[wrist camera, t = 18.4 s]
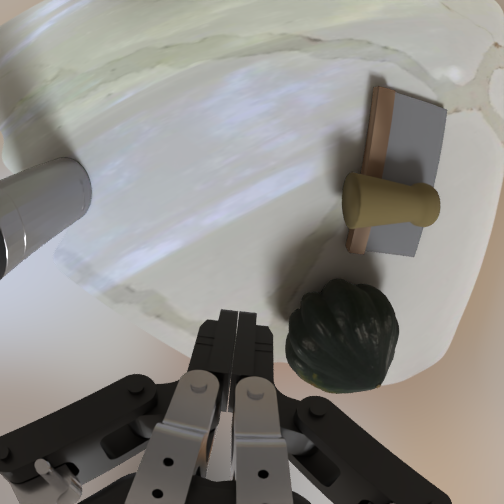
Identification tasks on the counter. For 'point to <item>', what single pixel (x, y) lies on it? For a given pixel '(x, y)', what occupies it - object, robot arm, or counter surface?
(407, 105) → the slate mat
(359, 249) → the walnut rail
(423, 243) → the counter surface
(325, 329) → the squash
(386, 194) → the olive pawn-shaped piece
